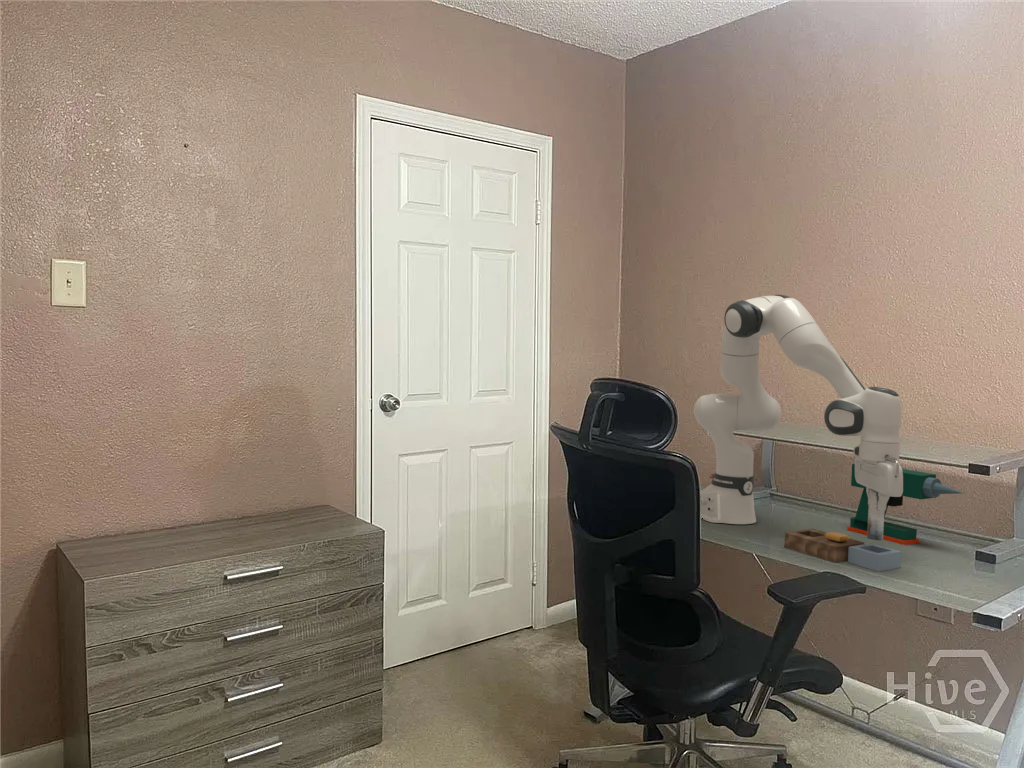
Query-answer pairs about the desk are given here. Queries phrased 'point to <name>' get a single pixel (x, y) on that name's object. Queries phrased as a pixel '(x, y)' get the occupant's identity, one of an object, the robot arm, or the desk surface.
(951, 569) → the desk surface
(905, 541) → the power tool
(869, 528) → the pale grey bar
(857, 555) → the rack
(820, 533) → the block
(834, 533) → the tan block
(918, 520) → the desk surface
